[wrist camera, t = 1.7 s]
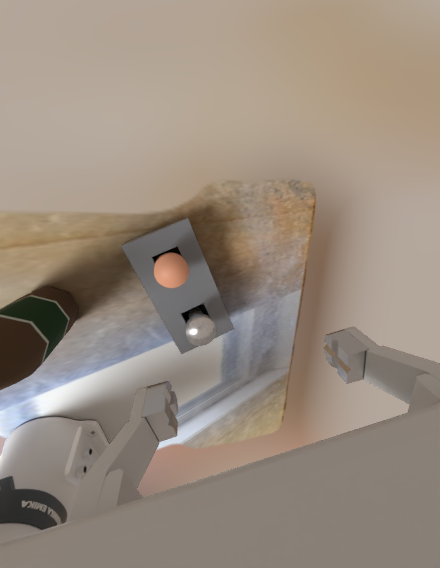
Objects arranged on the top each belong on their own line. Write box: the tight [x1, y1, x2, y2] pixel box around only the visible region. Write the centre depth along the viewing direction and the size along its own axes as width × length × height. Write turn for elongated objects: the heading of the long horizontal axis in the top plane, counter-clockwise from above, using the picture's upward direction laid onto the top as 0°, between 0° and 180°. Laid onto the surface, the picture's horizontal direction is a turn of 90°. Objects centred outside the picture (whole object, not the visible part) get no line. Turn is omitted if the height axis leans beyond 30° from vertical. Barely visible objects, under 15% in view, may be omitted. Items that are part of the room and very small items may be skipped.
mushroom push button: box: [154, 253, 189, 288], centre depth 30 cm, size 4×4×6 cm
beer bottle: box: [0, 286, 79, 390], centre depth 23 cm, size 8×8×24 cm
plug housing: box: [121, 218, 234, 354], centre depth 36 cm, size 20×10×5 cm, turn 21°
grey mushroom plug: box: [185, 308, 216, 346], centre depth 34 cm, size 4×4×6 cm
